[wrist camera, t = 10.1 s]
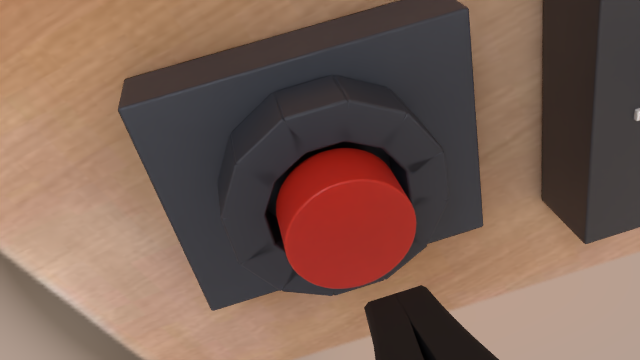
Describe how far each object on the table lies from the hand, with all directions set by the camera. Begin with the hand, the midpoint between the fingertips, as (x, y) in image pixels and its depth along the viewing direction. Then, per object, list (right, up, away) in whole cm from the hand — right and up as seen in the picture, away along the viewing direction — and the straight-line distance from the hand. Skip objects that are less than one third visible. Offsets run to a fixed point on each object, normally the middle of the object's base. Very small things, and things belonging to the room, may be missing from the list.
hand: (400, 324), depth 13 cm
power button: (-1, +3, +4) cm, 5 cm away
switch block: (-2, +4, +7) cm, 8 cm away
